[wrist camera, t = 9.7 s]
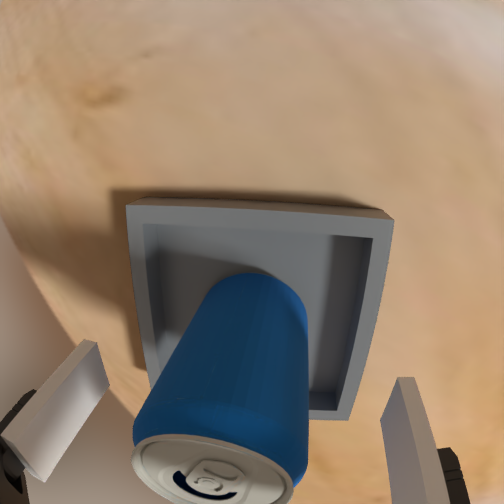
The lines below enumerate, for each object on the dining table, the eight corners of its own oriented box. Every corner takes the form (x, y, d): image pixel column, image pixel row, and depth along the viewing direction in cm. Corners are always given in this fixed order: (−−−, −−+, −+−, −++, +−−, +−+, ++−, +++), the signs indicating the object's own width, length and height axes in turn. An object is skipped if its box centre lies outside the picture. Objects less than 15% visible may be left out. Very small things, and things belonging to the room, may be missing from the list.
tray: (145, 196, 19) (125, 205, 17) (382, 209, 17) (394, 220, 15) (164, 377, 24) (152, 398, 21) (345, 396, 22) (348, 420, 20)
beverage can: (189, 329, 21) (109, 476, 10) (229, 248, 19) (139, 395, 7) (275, 371, 21) (252, 532, 10) (327, 298, 19) (348, 475, 8)
